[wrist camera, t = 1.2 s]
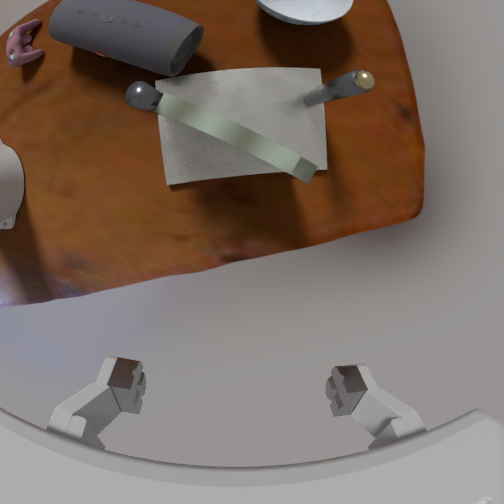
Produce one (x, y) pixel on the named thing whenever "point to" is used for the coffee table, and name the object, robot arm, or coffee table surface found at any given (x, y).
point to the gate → (236, 136)
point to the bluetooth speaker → (128, 33)
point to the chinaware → (306, 10)
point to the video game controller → (15, 43)
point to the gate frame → (246, 117)
